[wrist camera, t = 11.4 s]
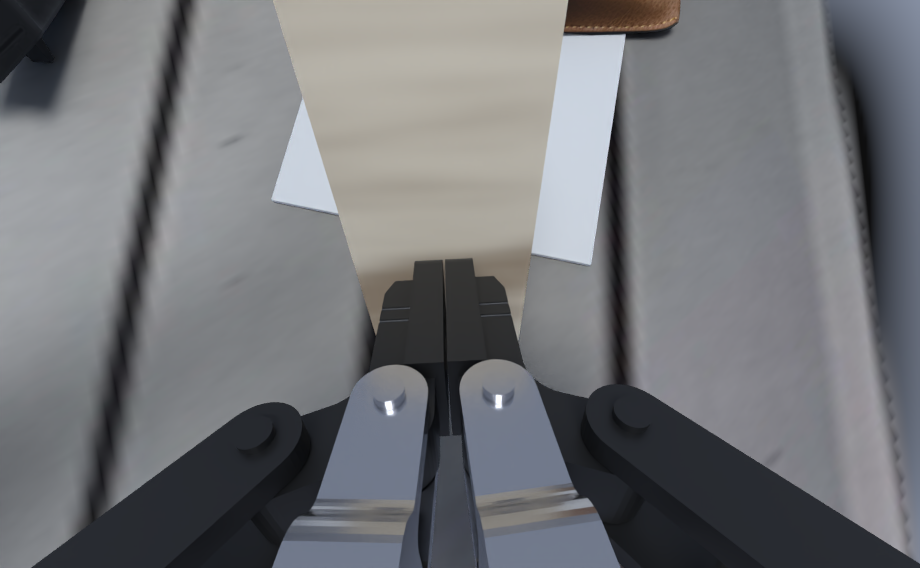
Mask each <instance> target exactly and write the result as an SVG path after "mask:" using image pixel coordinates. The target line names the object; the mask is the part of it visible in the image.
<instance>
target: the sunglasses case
mask: <svg viewBox="0 0 920 568" xmlns="http://www.w3.org/2000/svg"><path fill="white" fill-rule="evenodd" d="M679 15H680V0H568V5H567V12H566V19H565V26H564V33H567V34H582V35H614V34H630V33H644V32H657V31H663V30H667V29H669V28H672V27H673V26H675V25H676V24H677V23H678V21H679Z"/></svg>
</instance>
